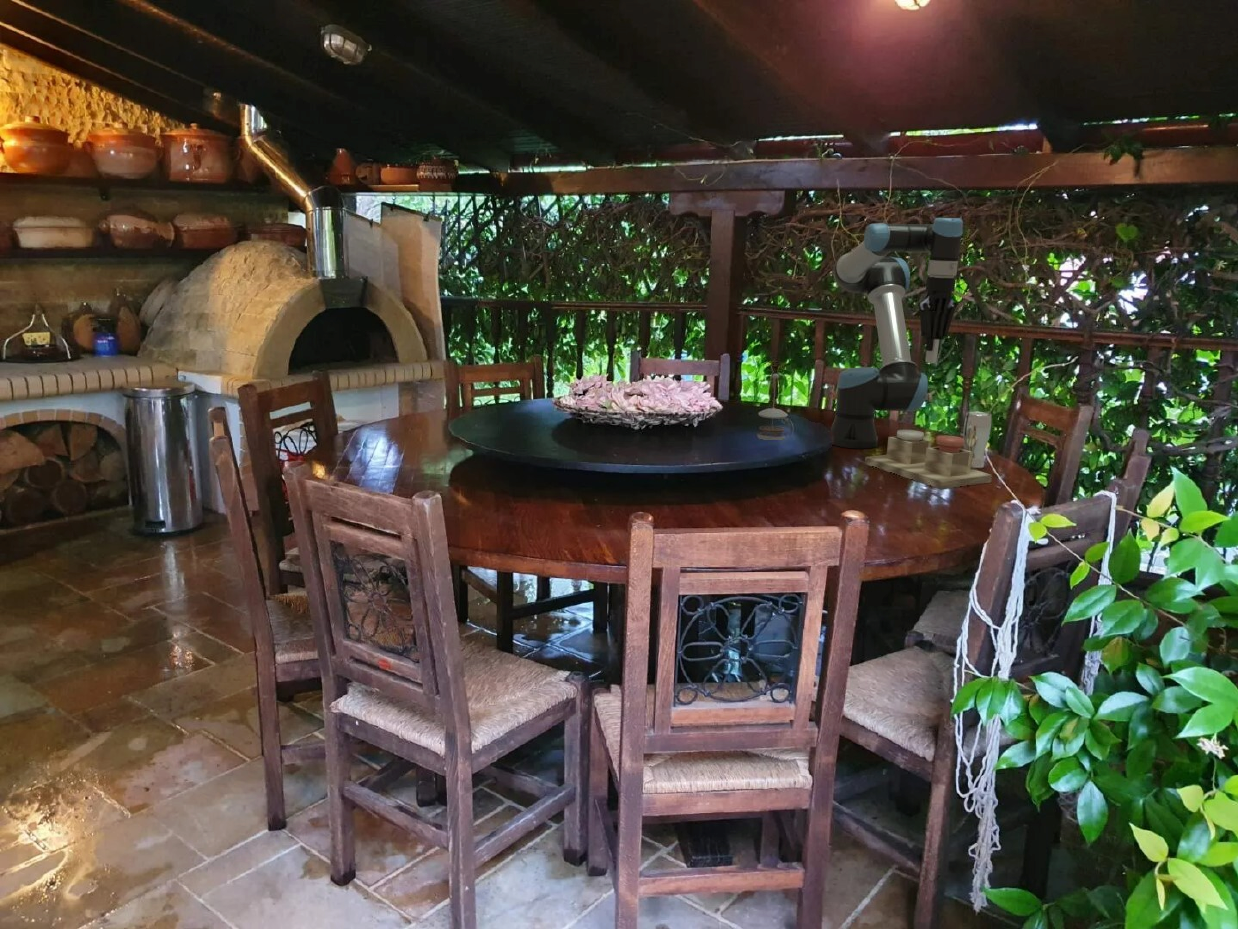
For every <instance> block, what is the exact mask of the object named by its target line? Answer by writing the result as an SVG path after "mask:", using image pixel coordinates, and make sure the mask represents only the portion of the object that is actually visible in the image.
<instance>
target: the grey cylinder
mask: <svg viewBox="0 0 1238 929" xmlns="http://www.w3.org/2000/svg"><path fill="white" fill-rule="evenodd" d="M896 431H897V432H896V436H897V437H898V438H900V439H901V440H904V441H908V442H915V441H919V440H923V439H924V436H925V434H924V432H923V431H919V430H913V429H899V430H896Z"/></svg>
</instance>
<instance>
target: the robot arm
mask: <svg viewBox="0 0 1238 929" xmlns="http://www.w3.org/2000/svg"><path fill="white" fill-rule="evenodd" d="M963 224H964V222H963V220H962V218H957V217H956V218H955V217H936V218H935V219H934V220H933V224H932V223H931V224H928V223H926V224H913V223H911V224H909V223H887V222H886V223H885V222H878V223H870V224H868V226H867V227H866V230H865V232H864V235H863V236H864V238H863V241H862V242H861V243H859V245H857V247H855V248H854V249H853V250H852V251H850V252H848V253H845V254H843V255H842V256H840V257H839V258H838V259H837V261H835V264H834V265H833V272H832V273H833V274H832V275H833V278H834V281H835V282H836V284H837V285H838V286H839V287H840V288H841V289H843V290H844V291H846V292H849V293H852V294H867V300H868V302H869V303H870V304H872V305H873V308H874V316H875V322H876V329H877V337H878V344H879V351H880V356H881V364H882V366H881V368H877V367H874V366H873V367H871V366H867V367H866V366H859V367H852V368H847V369H844V370H842V371H841V372H840V373H839V375H838V381H837V385H836V387H837V392H836V393H837V394H836V403H835V404H836V405H835V416H834V420H833V422H832V424H831V427H830V430H831V432H832V433H833V435H834V445H833V446H836V447H841V448H848V449H871V448H872V449H874V448H876V447H877V446H878V443H879V436H878V434H877V430H876V429H877V428H876V423H875V413H876V412H877V411H881V412H882V411H890V412H893V411H894V412H914V411H918V410H920V409H921V408H922V406H923V405H924V403H925V400H926V398H927V395H928V387H929V382H928V377H927V375H926V373H923V372H919V368H918V365H917V363H915V361H912V358H911V352H910V345H909V344H910V343H909V340H908V339H909V338H908V334H907V326H906V321H905V314H904V308H903V302H902V301H903V300H902V299H903V298H904V296H905V295H906V292H908V290H909V289H910V283H911V282H910V281H911V280H910V278H911V273H910V267H909V265H908V263H907V262H906V261H905V260H904V259H903V258H900V257H893V256H887V255H888V254H890V253H892V252H895V253H897V252H901V253H902V252H903V253H905V252H907V253H909V252H910V253H928V254H929V258H928V264H927V271H926V272H927V275H928V276H927V277H926V282H925V291H927V293H926V295H925V299H924V300H923V301H919V302H918V303H917V306H918V308H919V309H918V310H919V315H920V317H919V318H920V333H921V334H920V335H921V337H923V338H924V339H926V345H925V351H926V352H925V359H924V360H925V361H924V362H926V363H930V364H937V362H938V361H937V360H938V352H939V350H940V348H941V347H940V346H941V340H944V339H945V337H947V336H948V334H949V331H950V330H949V329H950V327H951V323H952V320H953V317H954V314H955V311H956V309H957V307H958V305H959V303H958V301H954V300H953V295H952V294H953V292H954V291H955V289H956V282H957V280H956V277H955V276H957V271H958V265H959V257H960V250H961V245H962V244H961V242H962V236H963V233H964V232H963V226H964V225H963ZM886 256H887V257H886ZM875 411H876V412H875Z"/></svg>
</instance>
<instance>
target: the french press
mask: <svg viewBox="0 0 1238 929" xmlns="http://www.w3.org/2000/svg"><path fill="white" fill-rule="evenodd" d="M771 378H772V379H774V385H776V383H777V382H776V379H779V378H780V374H779V373H773V374H772V375H771ZM773 391H774V392H773V399H775V396H776V386H774V389H773ZM772 404H773V405H772V407H771V408H765V409H762V410H760V411H759V412H758V416H759V417H761V418H766V419H772V421H771V425H761V426H759V427H758V429H759V430H760V431H758V432H757V437H758V438H759V439H763V440H782V441H783V439H786V438H787V436H788V437H789V436H790V432H791V436H792V437H793V435H794V424H793V422H792V421H791V419H789V418H788V416H789V415H788V413H787V412H785V411H784V410H782V409H778V408H775V401H773V402H772ZM774 419H776V420H777V419H781V423H782V424H786V423H788V424H787V425H788V434H787V436H786V433H783V432H785V430H786V429H785V428H784V427H783V426H778V425H773V424H774ZM783 420H784V421H783ZM790 424H791V425H790ZM791 427H792V430H791ZM768 435H769V436H768ZM774 436H780V437H774Z"/></svg>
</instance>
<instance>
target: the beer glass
mask: <svg viewBox="0 0 1238 929" xmlns="http://www.w3.org/2000/svg"><path fill="white" fill-rule="evenodd" d="M963 424H964V425H963V438H964V439H965V443H964V446H963V449H964V450H967V451H971V452H972V458H971V466H970V469H983V468H984V467H985V459H984V458H985V456H984V455H985V452H986V448H987V445H988V441H989V440H990V436H991V435H990V434H991V430H992V428H991V427H992V413H990V412H985V411H971V410H970V411H967V412H966V414H965V418H964V423H963Z"/></svg>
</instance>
